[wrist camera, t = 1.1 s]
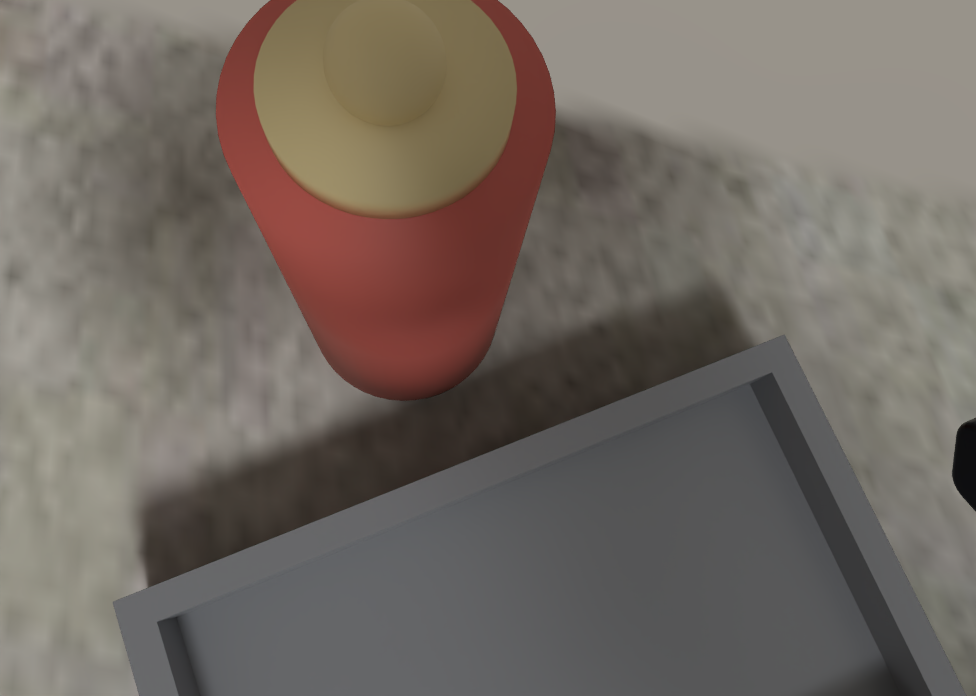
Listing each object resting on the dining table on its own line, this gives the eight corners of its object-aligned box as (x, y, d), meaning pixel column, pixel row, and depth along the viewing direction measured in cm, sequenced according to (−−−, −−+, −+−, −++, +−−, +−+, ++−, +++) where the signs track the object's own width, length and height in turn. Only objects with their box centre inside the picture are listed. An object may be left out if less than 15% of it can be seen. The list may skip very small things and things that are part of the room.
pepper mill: (533, 297, 24) (654, 6, 11) (418, 439, 22) (409, 287, 10) (392, 191, 24) (358, -200, 12) (272, 323, 23) (89, 39, 10)
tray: (928, 726, 21) (993, 748, 19) (284, 1054, 19) (263, 1129, 16) (748, 357, 24) (784, 334, 21) (148, 597, 21) (112, 602, 18)
